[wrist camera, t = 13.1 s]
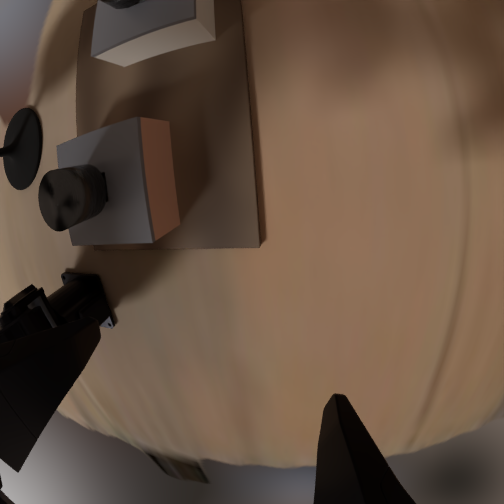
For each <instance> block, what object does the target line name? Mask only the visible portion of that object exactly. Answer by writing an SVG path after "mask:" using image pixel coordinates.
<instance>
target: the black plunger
mask: <svg viewBox="0 0 504 504" xmlns="http://www.w3.org/2000/svg"><path fill="white" fill-rule="evenodd" d="M100 1H102V2H104V3H106V4H108V5H109V6H111V7H113V8H115V9H124V8H128V7H130V6H132V5H134V4H136V3H137V2H139V3H141V2H143V1H146V0H100Z"/></svg>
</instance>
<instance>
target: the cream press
mask: <svg viewBox="0 0 504 504" xmlns="http://www.w3.org/2000/svg"><path fill="white" fill-rule="evenodd" d="M214 40H216V36H215V18H214V0H146V1H143V2H141V3H138V4H136V5H135V4H134V5H132V6H130V7H128V8H124V9H115V8H113V7H111V6H109V5H108V4H106V3H104V2H102V1H100V0H98V3H97V8H96V15H95V21H94V29H93V38H92V48H91V57H95V58H98V59H101V60H105V61H108V62H111V63H114V64H117V65H120V66H123V67H126V66H128V65H131V64H134V63H136V62H139V61H142V60H145V59H148V58H150V57H153V56H157V55H160V54H163V53H166V52H170V51H173V50H177V49H180V48H184V47H188V46H192V45H196V44H200V43H205V42H209V41H214Z"/></svg>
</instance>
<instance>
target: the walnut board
mask: <svg viewBox="0 0 504 504" xmlns="http://www.w3.org/2000/svg"><path fill="white" fill-rule="evenodd" d="M138 3H139V2H137V3H136V4H138ZM136 4H135V5H136ZM96 8H97V4H96V5H94V6H92V7H90V8H89V9H87V10H85V11H84V14H83V20H82V26H81V33H80V41H79V50H78V61H77V78H76V125H77V137H79V136H81V135H84V134H87V133H89V132H92V131H95V130H97V129H100V128H103V127H106V126H109V125H112V124H115V123H118V122H121V121H124V120H127V119H131V118H134V117H143V118H150V119H157V120H163V121H169V125H170V138H171V149H172V159H173V169H174V178H175V187H176V195H177V203H178V210H179V217H180V225H179V226H177V227H176V228H174V229H173V230H171V231H170V232H168V233H167V234H165V235H164V236H162V237H161V238H159V239H158V240H156V241H155V242H153V243H134V244H104V245H93V246H94V250H145V249H210V248H260V246H261V242H260V228H259V213H258V199H257V186H256V172H255V159H254V146H253V133H252V121H251V108H250V96H249V84H248V73H247V61H246V50H245V39H244V28H243V17H242V6H241V0H214V18H215V36H216V40H214V41H209V42H205V43H200V44H196V45H192V46H188V47H184V48H180V49H177V50H173V51H170V52H166V53H163V54H160V55H157V56H153V57H150V58H148V59H145V60H142V61H139V62H136V63H134V64H131V65H128V66H126V67H123V66H120V65H117V64H114V63H111V62H108V61H105V60H101V59H98V58H95V57H91V48H92V38H93V29H94V21H95V15H96ZM102 175H103V178H104V179H106V177H105V172H102ZM106 201H109V198H108V193H107V196H106Z"/></svg>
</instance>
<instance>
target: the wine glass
mask: <svg viewBox="0 0 504 504" xmlns="http://www.w3.org/2000/svg"><path fill="white" fill-rule="evenodd" d="M41 148H42V135H41V126H40V122H39V119H38V117H37V115H36V113H35V112H34V111H33V110H32V109H30V108H23V109H21V110H19V111H18V112H17V113H16V114H15V115H14V116H13V118H12V119H11V121H10V123H9V126H8V128H7V131H6V135H5V139H4V146H3V148H0V157H3V162H4V168H5V173H6V176H7V178H8V180H9V182H10V184H11V185H12V186H13V187H14V188H15V189H17V190H23V189H26V188H27V187H29V186H30V185H31V183H32V182H33V180H34V178H35V176H36V173H37V171H38V167H39V163H40V157H41Z"/></svg>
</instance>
